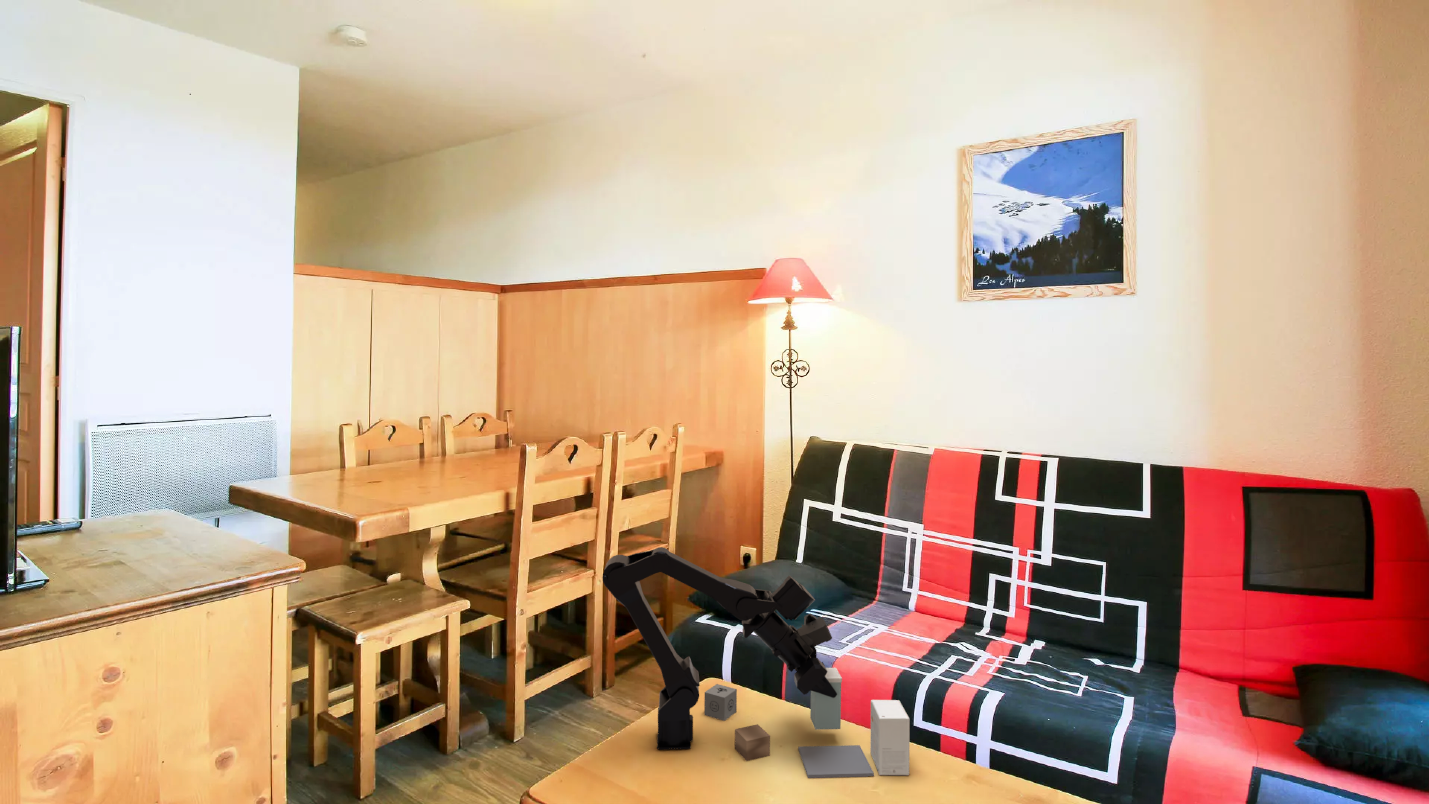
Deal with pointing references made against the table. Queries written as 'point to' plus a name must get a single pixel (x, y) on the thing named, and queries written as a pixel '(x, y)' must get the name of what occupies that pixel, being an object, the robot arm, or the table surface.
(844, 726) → the table surface
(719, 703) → the dice cube
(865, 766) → the felt coaster
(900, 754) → the small box
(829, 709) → the tea tin
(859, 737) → the table surface
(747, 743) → the walnut block
